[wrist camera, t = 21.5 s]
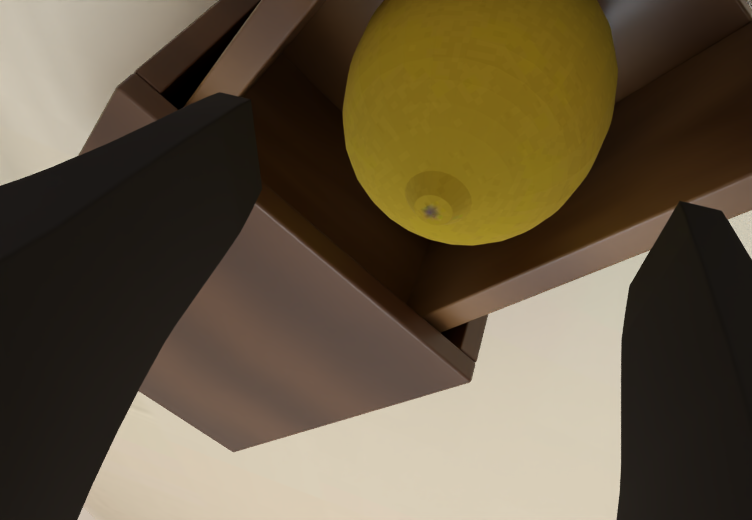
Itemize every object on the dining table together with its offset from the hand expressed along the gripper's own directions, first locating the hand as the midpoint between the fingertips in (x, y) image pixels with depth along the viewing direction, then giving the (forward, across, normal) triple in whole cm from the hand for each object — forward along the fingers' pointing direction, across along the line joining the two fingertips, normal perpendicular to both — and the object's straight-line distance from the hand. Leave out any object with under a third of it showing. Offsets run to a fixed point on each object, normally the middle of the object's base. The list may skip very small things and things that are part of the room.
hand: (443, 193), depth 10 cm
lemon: (+8, 0, 0) cm, 8 cm away
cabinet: (+10, +7, +10) cm, 15 cm away
